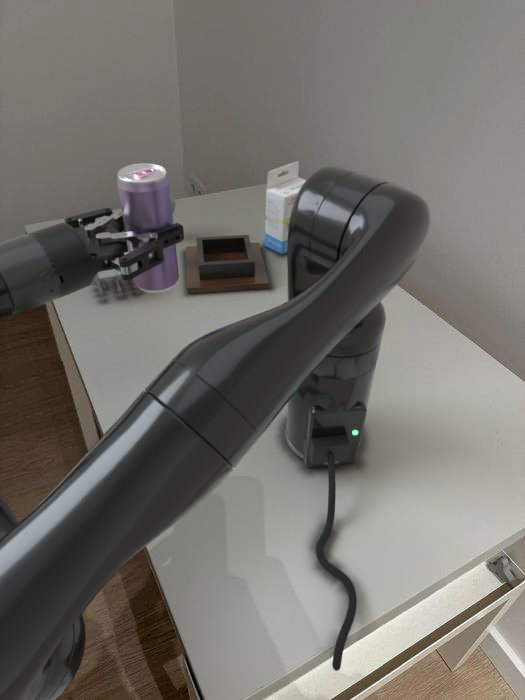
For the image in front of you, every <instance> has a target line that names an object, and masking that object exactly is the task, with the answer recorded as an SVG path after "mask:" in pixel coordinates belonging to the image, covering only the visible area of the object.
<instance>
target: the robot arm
mask: <svg viewBox="0 0 525 700" xmlns="http://www.w3.org/2000/svg"><path fill="white" fill-rule="evenodd" d="M305 180H306V181H305V182H304V184H303V185H302V187H301V188H300V190H299V192H298V194H297V197H296V199H295V202H294V204H293V208H292V212H291V216H290V221H289V228H288V241H287V253H286V255H287V257H286V258H287V259H286V260H287V262H286V263H287V301H286V302H284V303H282V304H280V305H277V306H275V307H272V308H270V309H268V310H265V311H262V312H259V313H257V314H254V315H251V316H248V317H247V318H244V319H241V320H238V321H235V322H232V323H230V324H226V325H224V326H222V327H220V328H217V329H215V330H212V331H210V332H208V333H206V334H203V335H201V336H200V337H198V338H195V340H193V341H191V342H190V343H188V344H187V345H186V346H184V348H182V349H181V350H180V351H179V352H178V353H177V354H176V355H174V357H172V359H171V360H170V361H169V362H168V363H167V364H166V365H165V366H164V367H163V369H162V370H160V372H159V373H158V374H157V375H156V376H155V377H154V378H153V379H152V381H151V382H150V383H149V384H148V385H146V387H145V388H144V390H142V391H141V392H140V393H139V394H138V396H137V397H136V398H135V399H134V401H133V402H132V403H131V404H130V405H129V406H128V408H127V409H125V411H124V412H123V413H122V415H121V416H119V418H118V419H117V420H116V421H115V422H114V423H113V424H112V425H111V427H109V428H108V430H106V432H105V433H104V434H103V435H102V436H101V437H100V438H99V439H98V440H97V441H96V442H95V443H94V444H93V445H92V446H91V447H90V448H89V449H88V451H87V452H86V453H84V455H83V456H82V457H81V458H80V459H79V461H78V462H77V463H76V464H75V465H74V466H73V467H72V468H71V469H70V470H69V472H68V473H66V475H65V476H64V477H63V478H62V480H61V481H59V483H57V485H56V486H55V487H54V488H53V489H52V490H51V492H49V494H48V495H47V496H46V497H44V499H43V500H42V501H40V502H39V504H37V505H36V506H35V507H34V508H33V509H32V510H31V511H30V512H29V513H28V514H27V515H26V516H25V517H23V519H22V520H20V521H19V520H18V519H17V517H16V515H15V514H14V513H13V511H12V510H11V508H10V506H9V505H8V503H7V502H6V501H5V499H4V497H3V495H2V493H0V700H56V699H58V698H59V697H60V696H61V695H62V694H63V693H64V691H65V690H66V689H67V688H69V685H70V684H71V683H72V681H73V680H74V679H75V677H76V675H77V673H78V671H79V669H80V667H81V666H82V665H81V664H82V661H83V657H84V654H85V648H86V641H87V635H86V623H85V620H84V616H83V613H84V612H85V611H86V609H87V608H88V606H89V605H90V604H91V603H92V601H93V600H94V599H95V598H96V596H97V595H98V594H99V593H100V592H101V591H102V590H103V588H104V586H105V585H106V584H107V583H108V582H109V581H110V580H111V579H112V578H113V577H114V576H115V575H116V574H117V572H118V571H120V569H121V568H122V567H123V566H124V565H126V564H127V563H128V562H129V561H130V560H131V559H132V558H133V557H134V556H135V555H137V554H138V553H139V552H140V551H142V550H143V549H144V548H145V547H147V546H148V545H149V544H150V543H152V542H153V541H155V540H156V539H157V538H158V537H160V536H161V535H162V534H164V533H165V532H166V531H167V530H169V529H170V528H171V527H174V525H175V524H176V523H178V522H179V521H180V520H182V519H183V518H184V517H185V516H186V515H188V514H189V513H190V512H192V511H193V510H194V509H195V508H196V507H197V506H199V505H200V504H201V503H202V502H203V501H204V500H205V499H207V498H208V497H209V496H210V495H211V494H212V493H213V492H214V491H215V490H216V489H217V488H218V487H219V486H221V484H222V483H223V482H224V481H225V480H226V479H227V478H228V477H229V476H230V474H231V473H233V471H234V468H235V469H236V468H237V466H238V465H239V464H240V463H241V461H243V459H244V458H245V456H246V455H247V454H248V453H249V452H250V450H251V449H252V448H253V447H254V446H255V444H256V443H257V442H258V441H259V439H260V438H262V436H263V435H264V433H265V432H266V431H267V430H268V429H269V427H270V426H271V424H272V423H273V422H274V420H275V419H276V418H277V417H278V415H279V414H280V413H281V411H282V410H283V409H284V407H285V406H286V405H287V410H286V423H285V431H284V436H285V440H286V441H285V442H286V444H287V446H288V447H289V449H290V450H291V451H292V453H293V454H294V455H296V457H298V458H300V459H301V460H302V461H303V462H304V466H305V468H315V467H316V468H317V467H325V466H327V476H328V493H327V497H328V498H327V513H326V522H325V527H324V529H323V532H322V533H321V535H320V537H319V539H318V541H317V543H316V548H315V549H316V550H315V553H316V558H317V561H318V563H319V564H320V565H321V566H322V568H323V569H325V571H327V572H328V573H329V574H331V575H332V576H333V577H335V578H336V579H337V580H339V581H340V582H341V583H342V584H344V586H345V589H346V591H347V596H348V608H347V612H346V614H345V618H344V619H343V623H342V625H341V628H340V630H339V632H338V636H337V638H336V641H335V644H334V645H335V646H334V650H333V657H332V662H331V663H332V664H331V666H332V669H333V671H337V672H338V671H340V669H341V666H342V661H343V660H342V659H343V653H344V650H345V649H344V648H345V645H346V642H347V639H348V636H349V633H350V631H351V628H352V625H353V623H354V620H355V618H356V613H357V607H358V605H357V604H358V600H357V599H358V597H357V592H356V588H355V585H354V583H353V581H352V580H351V578H350V577H349V576H348V575H347V574H345V572H344V571H342V570H340V569H339V568H337V566H335V565H334V564H332V563H331V562H330V561H329V560H328V559H327V557H326V555H325V552H324V549H325V546H326V544H327V541H328V540H329V538H330V536H331V534H332V531H333V527H334V523H335V522H334V520H335V514H336V512H335V511H336V491H337V490H336V486H337V485H336V465H346V464H352V463H353V464H355V463H356V462H357V458H358V454H359V449H360V445H361V442H362V436H363V432H364V426H365V421H366V419H367V418H366V417H367V413H368V412H367V411H368V406H369V405H368V404H369V400H370V396H371V391H372V387H373V381H374V376H375V372H376V368H377V363H378V360H379V359H378V358H379V355H380V349H381V345H382V341H383V336H384V331H385V326H386V320H387V319H386V311H385V307H384V305H383V303H382V301H383V300H384V299H385V298H386V297H387V296H388V295H389V293H391V291H392V290H394V288H396V286H397V285H398V284H399V282H400V281H402V279H403V278H404V277H405V275H407V273H408V272H409V270H410V269H411V267H413V265H414V263H415V262H416V260H417V258H418V257H419V255H420V254H421V252H422V250H423V248H424V246H425V244H426V242H427V239H428V236H429V233H430V230H431V226H432V225H431V224H432V213H431V209H430V208H431V207H429V204H428V202H427V201H426V200H425V199H424V198H423V197H422V196H420V195H419V194H418V193H416V192H415V191H412V190H411V189H408V188H405V187H404V186H401V185H398V184H396V183H393V182H390V181H387V180H384V179H381V178H379V177H376V176H373V175H371V174H367V173H364V172H362V171H358V170H356V169H354V168H353V169H352V168H350V167H347V166H346V167H345V166H343V165H337V164H328V165H324V166H322V167H319V168H318V169H316V170H315V171H314V172H312V173H311V174H310V175H309V176H308V177H307V178H306V179H305ZM96 219H97V220H96ZM184 238H185V233H184V226H183V225H182V224H181V223H179V222H176V223H175V222H174V224H172V225H170V226H167V227H164V228H162V229H159V230H156V231H154V233H145V234H137V233H136V232H134V231H129V232H125V227H124V221H123V215H122V210H117V211H115V212H113V209H112V208H111V207H103V208H100V209H95V210H92V211H87V212H84V213H80V214H75V215H72V216H71V215H70V216H68V217H67V216H66V217H65V218H64V222H60V223H57V224H53V225H51V226H48V227H44V228H41V229H38V230H35V231H32V232H28V233H26V234H23V235H20V236H17V237H13V238H10V239H7V240H4V241H2V242H0V320H3V319H5V318H7V317H10V316H12V315H13V314H17V313H20V312H24V311H27V310H32V309H35V308H39V307H40V306H43V305H46V304H49V303H50V302H51V303H52V302H53V301H55V300H58V299H61V298H63V297H66V296H68V295H71V294H73V293H76V292H78V291H80V290H83V289H85V288H88V287H91V285H93V283H94V281H95V276H96V274H97V273H98V272H101V271H107V270H113V269H116V270H117V271H119V272H121V275H122V276H121V279H122V280H123V281H131V279H132V280H133V278H135V277H137V276H138V275H140V274H142V273H144V272H146V271H148V270H150V269H151V268H153V267H155V266H157V265H159V264H161V263H163V262H164V255H163V249H164V248H166V247H169V246H172V245H173V244H176V245H177V244H178V243H181V242H183V240H185V239H184ZM127 241H130V242H131V243H132V249H133V251H131V252H129V251H128V245H127ZM141 242H148V244H146V245H144V246H142V247H140V248H139V243H141ZM149 256H153V257H152V258H150V259H149ZM96 277H97V276H96Z"/></svg>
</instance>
